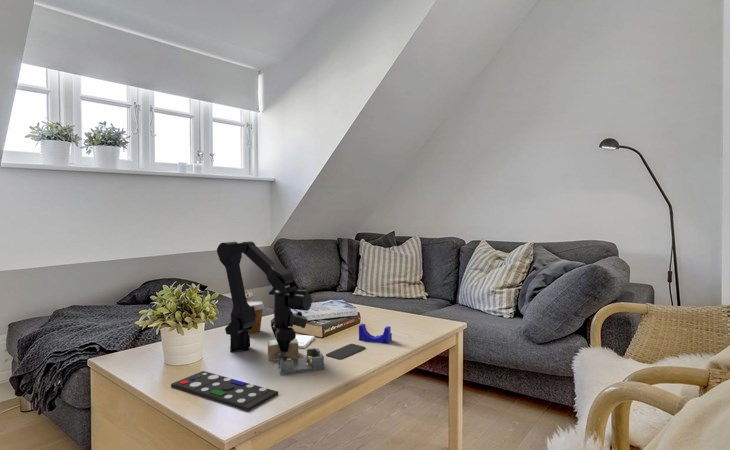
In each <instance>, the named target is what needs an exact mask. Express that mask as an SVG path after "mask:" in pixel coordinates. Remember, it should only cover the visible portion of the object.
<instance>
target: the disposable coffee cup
mask: <svg viewBox="0 0 730 450" xmlns="http://www.w3.org/2000/svg"><path fill="white" fill-rule="evenodd" d="M247 303H248V304H249V306H250V307H252V306H254V308H255V314H256V316H257V317H255V319H256V321H255V323H254V325H253V327H252V330H249V331H248V334H250V335H252V334H253V335H254V334H258V333H260V332H261V328H262V319H263V318H262V317H263V310H264V307H265V305H264V303H263V301H260V300H251V301H247Z"/></svg>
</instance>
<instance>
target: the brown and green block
mask: <svg viewBox="0 0 730 450" xmlns="http://www.w3.org/2000/svg"><path fill="white" fill-rule="evenodd" d="M288 351H289V358H291V359H299V348H298V342H297V339H294V340H292V341H291V342H290V344H289V348H288ZM280 352H281V350H280V348H279V345H278V343H277V340H276V339H272V340H267V358H268V361H278V353H280Z"/></svg>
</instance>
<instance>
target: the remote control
mask: <svg viewBox="0 0 730 450" xmlns="http://www.w3.org/2000/svg"><path fill="white" fill-rule="evenodd" d="M170 387H171V388H174V389H177V390H179V389H180V391H183V392H185V393H190V394H192V395H195V396H198V397H202V398H205V399H207V400H211V401H214V402H217V403H220V404H223V405H226V406H230V407H233V408H236V409H239V410H242V411H246V412H250V411H252V410H253V409H255V408H257V407H259V406H261V405H263V404H264V403H266V402H268V401H270V400H272V399H273V398H275V397H277V396H278V395H279V391H277V390H274V389H270V388H267V387H262V386H259V385H255V384H252V383H250V382H248V383H247V382H245V381H243V380H238V379H234V378H231V377H227V376H223V375H219V374H216V373H213V372H209V371H205V370H202V371H200V372H196V373H193V374H192V375H189V376H186V377H184V378H182V379H180V380H177V381H174V382H172V383H170Z"/></svg>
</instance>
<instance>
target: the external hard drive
mask: <svg viewBox="0 0 730 450" xmlns="http://www.w3.org/2000/svg"><path fill="white" fill-rule="evenodd" d="M295 339H297V342H298V349H303V348H304V349H305V348H307V346H308V345H310V344H311V343H312V342H313V341H314V340H315V339H316V337H315V335H305V334H304V335H303V334H296V338H295ZM311 341H312V342H311ZM310 342H311V343H310Z"/></svg>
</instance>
